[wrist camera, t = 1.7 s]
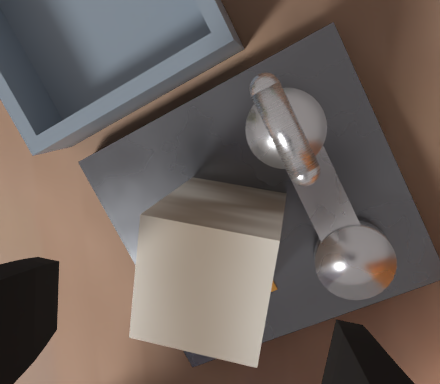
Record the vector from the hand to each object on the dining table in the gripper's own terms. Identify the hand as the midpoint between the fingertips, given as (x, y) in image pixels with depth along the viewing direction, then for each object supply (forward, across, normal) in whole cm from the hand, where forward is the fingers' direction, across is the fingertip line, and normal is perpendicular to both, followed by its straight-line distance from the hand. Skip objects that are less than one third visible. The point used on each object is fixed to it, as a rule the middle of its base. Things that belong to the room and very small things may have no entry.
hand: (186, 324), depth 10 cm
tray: (+9, +7, -8) cm, 14 cm away
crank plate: (+9, -1, -1) cm, 9 cm away
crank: (+7, -3, -2) cm, 8 cm away
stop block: (+8, 0, 0) cm, 8 cm away
